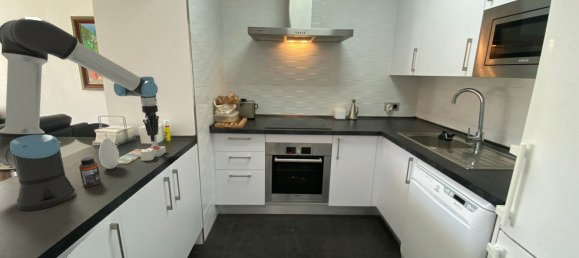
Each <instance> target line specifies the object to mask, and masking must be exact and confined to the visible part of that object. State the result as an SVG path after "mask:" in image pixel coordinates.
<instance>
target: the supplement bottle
mask: <svg viewBox="0 0 579 258" xmlns="http://www.w3.org/2000/svg"><path fill="white" fill-rule="evenodd" d="M80 163H81V164H80V165H79V166H78V168H79V173H80V178H81V183H82V186H83V187H86V188H87V187H88V188H89V187H95V186H97V185H99V184H101V182H102V181H101V180H102V179H101V174H100V169H99V163H98V162H96V161H95V159H94V157H93V156H87V157H83V158H81V160H80Z"/></svg>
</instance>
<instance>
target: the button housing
mask: <svg viewBox="0 0 579 258" xmlns="http://www.w3.org/2000/svg"><path fill="white" fill-rule="evenodd" d="M158 146H159V147H160V149H158V150H154V155H155V157H161V156H162V155H164V154H165V153H166V152H167V150H166V146H165V145H164V146H162V145H161V146H160V145H158ZM147 149H150V147H148V148H147ZM155 157H154V158H155Z"/></svg>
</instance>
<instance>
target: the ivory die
mask: <svg viewBox="0 0 579 258" xmlns="http://www.w3.org/2000/svg"><path fill="white" fill-rule="evenodd" d="M142 149H143V150H142V151H141V152H140V153H141V157H140V159H141V162H145V161H146V162H148V161H153V160H154V159H155V155H154V149H148V148H142Z"/></svg>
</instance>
